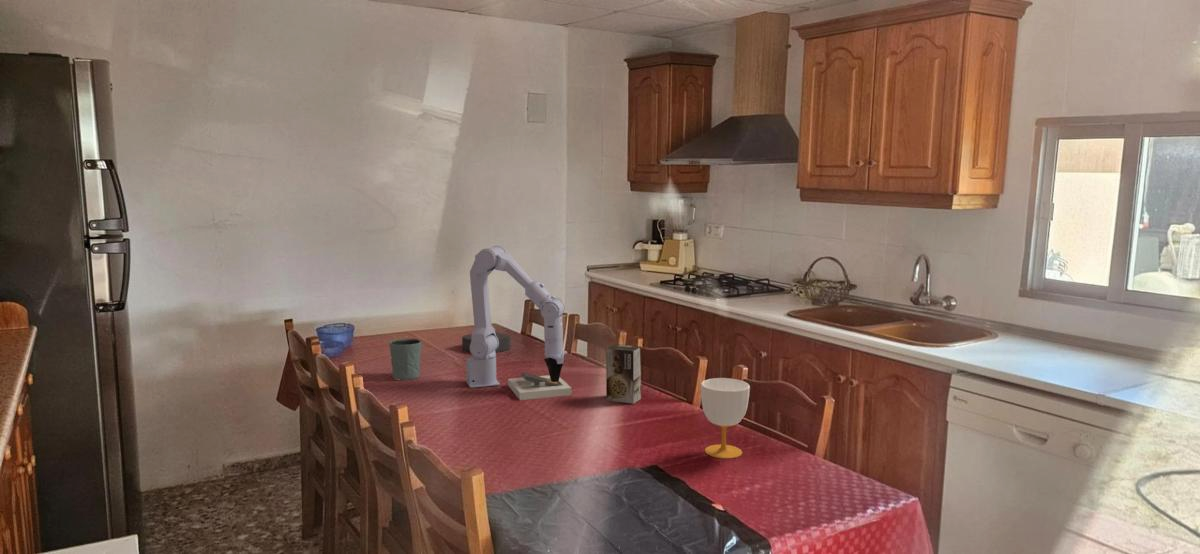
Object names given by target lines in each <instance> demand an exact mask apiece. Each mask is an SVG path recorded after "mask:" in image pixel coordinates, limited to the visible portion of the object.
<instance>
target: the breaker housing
mask: <svg viewBox="0 0 1200 554" xmlns="http://www.w3.org/2000/svg"><path fill="white" fill-rule="evenodd" d="M538 376H539V377H543V378H547V379H550V375H549V374H547V375H538ZM556 383H557V384H558V385H559V386H551V387H550V386H546V385H545V382H539V383H535V382H531V381H528V380H525V379H524V378H523V377H515V378H508V381H507V384H508V386H507V387H509V389H510V390H511V391H512V392H513V393H514V395H515V396H516V398H518V399H519V401H526V400H537V399H538V400H539V399H547V398H548V399H549V398H557V397H567V396H568V397H569V396H572V393H573V390H572V388H573V387H571V386H570V385H569V384H568V383H567V382H566V381H565V380H564V379H562V378H561V377H560V378H559V381H558V382H556Z"/></svg>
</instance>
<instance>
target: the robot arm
mask: <svg viewBox="0 0 1200 554" xmlns="http://www.w3.org/2000/svg"><path fill="white" fill-rule="evenodd" d="M472 263H473V264H472V266H471V267H470V271H469V281H470V290H471V292H470V293H471V301H472V312H473V313H472V314H473V315H472V316H473V324H474V328H473V331H472V333H471V334H472V335H471V338H472V340H471V344H470V353H471V355H472V356H471V357H467V358H466V360H465V372H466V373H465V374H466V375H465V376H466V377H465V378H466V381H465V382H466V384H467V385H468V387H469V388H470V389H473V388H482V387H483V388H484V387H494V386H495V387H496V386H500V385H501V383H500V382H499V380H498V379H497V352H496V353H495V350H496V349H497V348H498V346H499V340H498V338H497V336H496V334H495V332H496V329H495V327H494V326H493V325H492V317H491V315H492V314H491V305H490V302H491V301H490V294H489V281H488V276H489V275H491V273H492V272H493V271H494V270H496V271H499V272H500V271H501V272H506V273H507V274H509V275H510V277H512V278H513V279H514V280H515V281H516V282H517V283H518V284H519V285H521V287H522V288H523V289H524V291H525V292H524V293H525V296H526V297H527V298H528V299H529V300H530V301H531V302H532V303H533V304H534V305H535V306H536V307H537V308H538V309H539V310H540V315H541V317H542V318H543V324H544V325H543V328H544V329H543V330H544V351H543V352H544V353H543V354H544V357H547V358H544V359H543V360H544V363H545V364H546V367H547V369H548V375H550V379H551V381H552V382H558V381H559V378H561V377H560V376H561V372H562V368H563V366H564V364H565V357H564V356H565V355H567V354H568V351H566V350H564V330H563V329H564V328H563V327H564V326H563V325H564V324H563V314H564V313H565V304H564V302H562V300H561V299H560V298H556V296H555V295H554V294H553V295H552V294H551V293H550V292H549V290H548V289H547V288H546V285H545V284H544V283H543V282H541V283H540V282H539V281H534V280H532V278H530V276H529V275H528V274H527V273H526V272H525V270H524V269H523V268H522V267H521V266H520V265H519V263H517V262H516V261H515V259H514V258H513V256H512V255H511V253H509V252H507V250H506V249H505V248H504V247H502V246H500V245H494V246H492V247H488V248H487V247H486V248H482V249H481V250H480V251H479V252H478V253H476V254H475V255H474V261H473V262H472Z"/></svg>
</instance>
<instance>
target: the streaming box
mask: <svg viewBox="0 0 1200 554" xmlns="http://www.w3.org/2000/svg"><path fill="white" fill-rule="evenodd" d="M495 334H496V336H497V338H498V340H499V346H498V348H497V349H496V350H495V353H496V354H497V353H500V352H505V351H508V350H510V349H511V335H508V334H504V333H501V332H496V331H495ZM471 335H472V333H471V334H466V335H462V337H461V340H462V341H461V345H462V347H461V348H462V350H463V351H464V352H470V344H471V340H472V338H471ZM470 353H471V352H470Z"/></svg>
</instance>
